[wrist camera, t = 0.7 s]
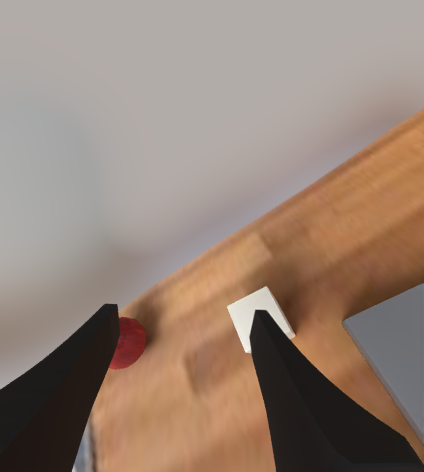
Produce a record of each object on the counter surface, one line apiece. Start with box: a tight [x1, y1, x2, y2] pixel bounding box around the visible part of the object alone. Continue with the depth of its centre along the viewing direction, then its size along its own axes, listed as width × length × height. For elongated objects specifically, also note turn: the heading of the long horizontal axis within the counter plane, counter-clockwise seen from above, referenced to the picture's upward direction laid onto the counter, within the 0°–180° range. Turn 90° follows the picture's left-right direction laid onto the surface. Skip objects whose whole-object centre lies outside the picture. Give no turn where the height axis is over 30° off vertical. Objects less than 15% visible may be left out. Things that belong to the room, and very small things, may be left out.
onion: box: [109, 317, 146, 369], centre depth 29 cm, size 6×6×8 cm
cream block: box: [227, 286, 296, 353], centre depth 24 cm, size 4×4×6 cm
